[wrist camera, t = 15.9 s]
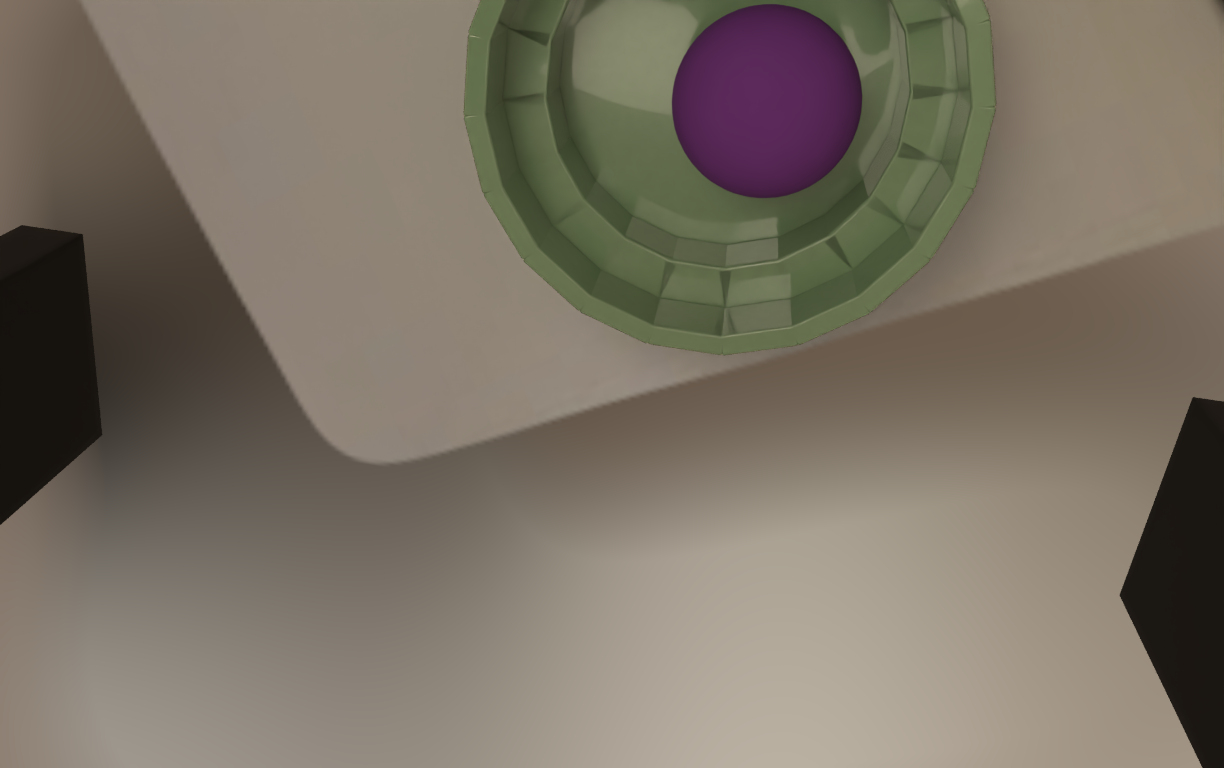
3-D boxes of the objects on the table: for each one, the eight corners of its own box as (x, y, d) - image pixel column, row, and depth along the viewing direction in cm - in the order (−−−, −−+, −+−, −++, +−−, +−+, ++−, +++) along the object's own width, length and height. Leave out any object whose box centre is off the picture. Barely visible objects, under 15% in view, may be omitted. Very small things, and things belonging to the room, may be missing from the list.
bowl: (490, 257, 36) (450, 313, 32) (524, -205, 31) (481, -215, 26) (904, 320, 36) (924, 388, 31) (1017, -143, 30) (1061, -143, 25)
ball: (635, 165, 33) (700, 222, 28) (658, -17, 30) (732, 15, 26) (791, 170, 34) (875, 224, 30) (823, -3, 32) (918, 29, 28)
